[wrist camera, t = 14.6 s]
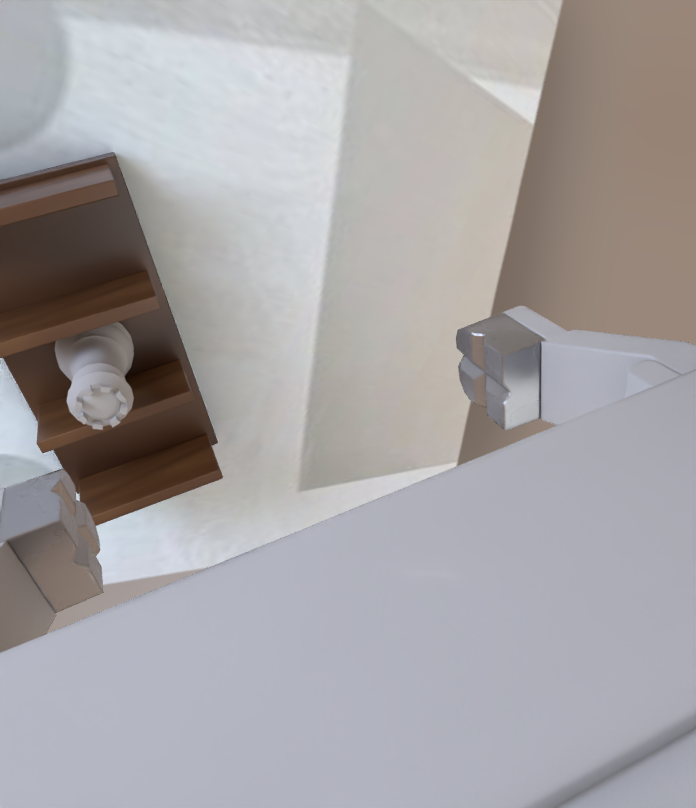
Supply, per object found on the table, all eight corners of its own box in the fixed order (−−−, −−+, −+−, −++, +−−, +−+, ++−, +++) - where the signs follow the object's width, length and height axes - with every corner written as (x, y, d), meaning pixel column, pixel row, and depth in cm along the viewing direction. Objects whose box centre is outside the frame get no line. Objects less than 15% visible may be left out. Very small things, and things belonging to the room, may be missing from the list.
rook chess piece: (144, 326, 39) (161, 384, 33) (116, 387, 41) (127, 454, 34) (70, 299, 37) (72, 356, 31) (43, 365, 38) (40, 433, 32)
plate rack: (-78, 199, 33) (-100, 226, 28) (113, 151, 35) (122, 170, 31) (77, 484, 44) (79, 536, 40) (214, 434, 46) (232, 479, 42)
